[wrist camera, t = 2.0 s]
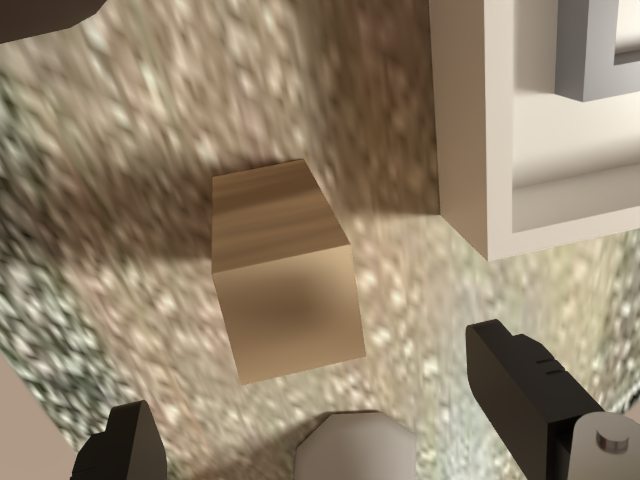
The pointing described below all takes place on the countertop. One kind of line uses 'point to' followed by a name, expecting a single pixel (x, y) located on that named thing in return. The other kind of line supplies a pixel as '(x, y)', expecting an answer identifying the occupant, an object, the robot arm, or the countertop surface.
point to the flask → (357, 449)
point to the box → (536, 120)
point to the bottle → (42, 16)
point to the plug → (282, 273)
